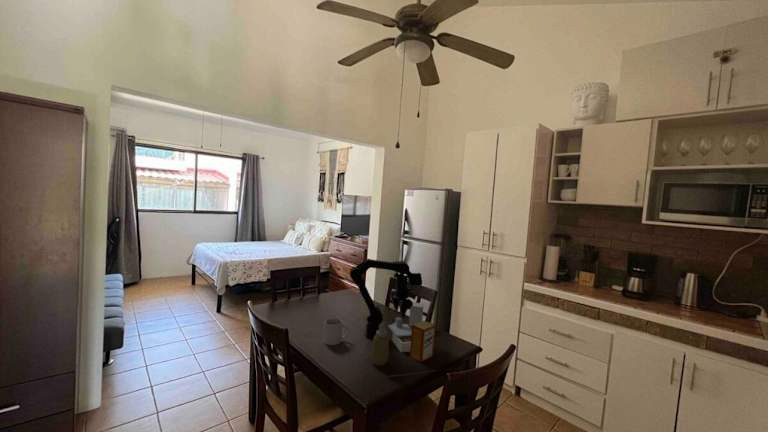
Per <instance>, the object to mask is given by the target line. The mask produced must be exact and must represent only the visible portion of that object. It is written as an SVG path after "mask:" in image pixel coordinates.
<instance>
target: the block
mask: <svg viewBox="0 0 768 432" xmlns="http://www.w3.org/2000/svg"><path fill="white" fill-rule="evenodd" d="M401 341H402V342H411V337H409V336H403V337H401Z"/></svg>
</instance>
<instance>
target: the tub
mask: <svg viewBox="0 0 768 432" xmlns="http://www.w3.org/2000/svg"><path fill="white" fill-rule="evenodd" d="M401 337H403V336H401ZM401 337H396V335H395V334H394V333H393V332H392V342H393V344H394V345H395V346H396V347H397V349H398V350H399V352H400V353H408V352H409V353H410V348H411V342H402V341H401ZM409 337H411V336H409Z"/></svg>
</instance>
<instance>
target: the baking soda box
mask: <svg viewBox="0 0 768 432" xmlns="http://www.w3.org/2000/svg"><path fill="white" fill-rule="evenodd" d="M436 327H437V325H436V324H434V323H433V322H429V321H427V320H422V322H419V323H416V324H414V325H412V327H411V329H412V335H411V348H410V351H409V357H410V358H412V359H414V360H416V361H418V362H419V363H422V362H425V361H427V360H428V359H430V358H432V357H434V351H435V349H434V348H435V340H436V339H435V338H436Z"/></svg>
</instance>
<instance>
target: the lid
mask: <svg viewBox="0 0 768 432" xmlns="http://www.w3.org/2000/svg"><path fill="white" fill-rule="evenodd" d="M403 320H404V319H403V318H402V316H400V317H396V316H395V320H394V321H395V322H393V323H392V324H389V325H388V326H387V328H389V329H390V330H391V332H392V334H393V333H394V334H395V335H396V337H401V336H411V335H412V327H411V326H409V324H407V323H404V322H403Z"/></svg>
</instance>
